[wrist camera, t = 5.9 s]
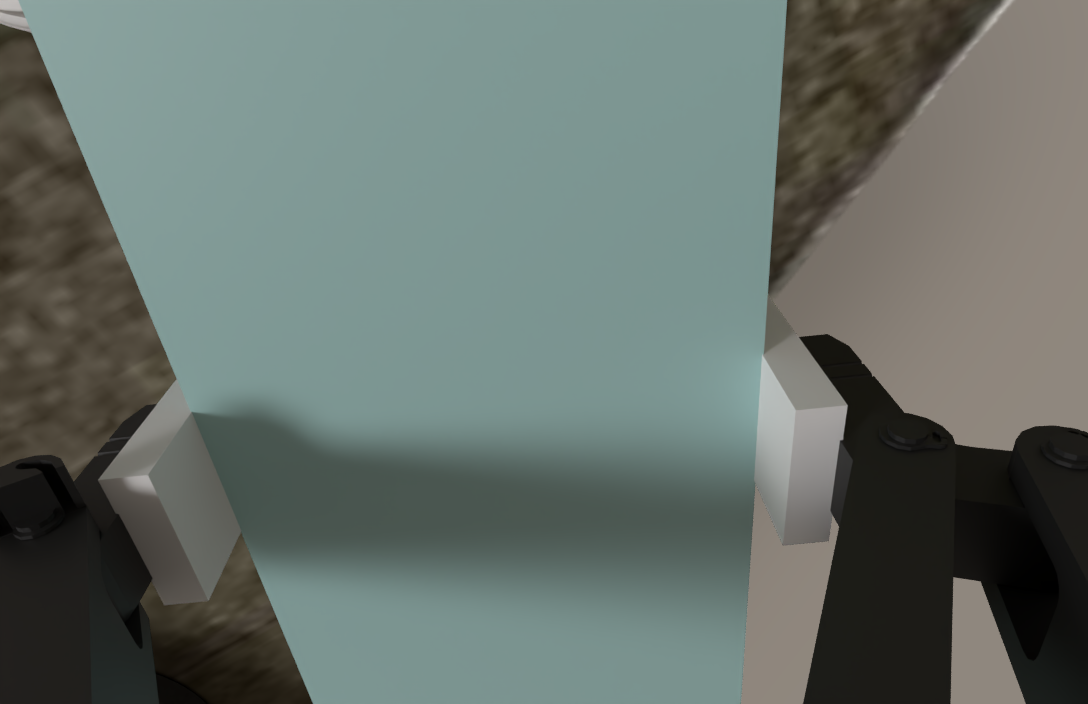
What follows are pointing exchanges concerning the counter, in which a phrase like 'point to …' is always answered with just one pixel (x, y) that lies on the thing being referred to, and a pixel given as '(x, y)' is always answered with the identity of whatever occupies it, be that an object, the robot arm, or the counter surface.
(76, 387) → the counter surface
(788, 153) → the counter surface
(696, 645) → the lid
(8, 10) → the coffee cup
